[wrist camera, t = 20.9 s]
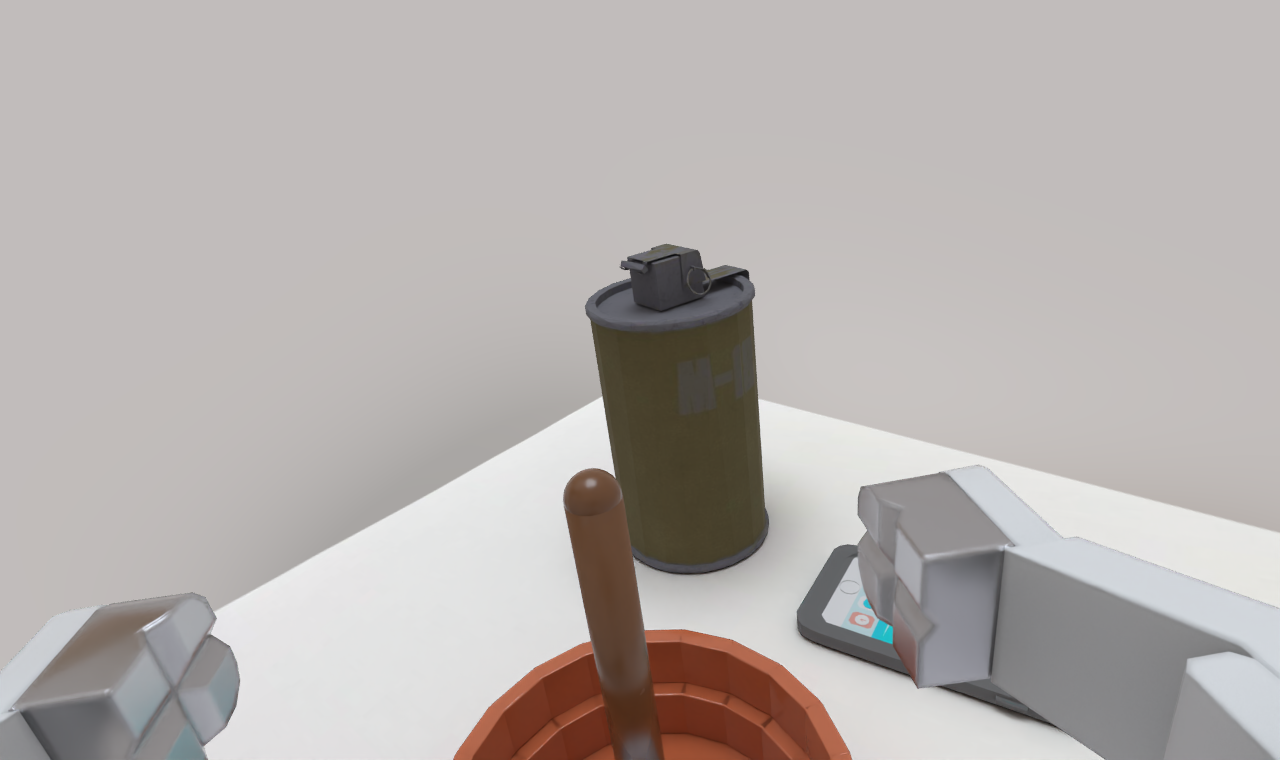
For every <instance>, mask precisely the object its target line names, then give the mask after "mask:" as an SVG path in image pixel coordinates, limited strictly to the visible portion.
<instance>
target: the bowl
mask: <svg viewBox="0 0 1280 760" xmlns="http://www.w3.org/2000/svg"><path fill="white" fill-rule="evenodd" d="M644 631H645V637H646V644H647V650H648V656H649V663H650V669H651V675H652V681H653V688H654V694H655V700H656V707H657V713H658V719H659V725H660V732H661V738H662V744H663V751H664V757H665V760H852V757H851V755H850V751H849V750H848V748H847V746H846V744H845V743H844V741H843V739H842V737H841V736H840V734H839V732H838V730H837V729H836V727H835V725H834V723H833V722H832V720H831V718H830V716H829V715H828V713H827V711H826V709H825V708H824V706H823V704H822V703H821V702H820V700H819V699H818V698H817V697H816V696H814V695H813V694H812V693H811V692H810V691H809V690H808V689H807V688H806V687H805V686H804V685H803V684H802V683H801V682H799V681H798V680H797V679H796V678H795V677H794V676H793V675H792V674H791V673H790V672H789V671H788V670H787V669H785V668H784V667H783V666H782V665H780V664H779V663H777V662H775V661H773V660H771V659H769V658H767V657H765V656H763V655H761V654H759V653H757V652H755V651H753V650H751V649H749V648H747V647H745V646H743V645H741V644H739V643H737V642H736V641H733V640H730V639H726V638H721V637H717V636H712V635H707V634H703V633H698V632H693V631H689V630H682V629H681V630H644ZM453 760H615V758H614V753H613V748H612V743H611V738H610V733H609V728H608V723H607V718H606V713H605V708H604V703H603V698H602V693H601V688H600V683H599V678H598V673H597V668H596V663H595V658H594V653H593V648H592V643H591V641H590V642H586V643H582V644H580V645H578V646H576V647H574V648H572V649H570V650H568V651H566V652H564V653H562V654H560V655H558V656H557V657H555V658H553V659H551V660H549V661H547V662H545V663H543V664H541V665H539V666H537V667H535V668H534V669H533V670H531V671H530V672H529V673H528V674H527V675H526V676H524V677H523V678H522V679H521V680H520V681H519V682H517V683H516V684H515V685H514V686H513V687H512V688H510V689H509V690H508V691H507V692H506V693H505V694H503V695H502V696H501V697H500V698H499V699H497V700H496V701H495V702H494V703H493V704H492V705H491V706H490V707H489V708H488V709H487V711H486V712H485V713H484V715H483V716H482V718H481V719H480V720H479V722H478V723H477V725H476V726H475V727H474V729H473V730H472V732H471V733H470V734H469V736H468V737H467V739H466V740H465V741H464V743H463V744H462V745H461V747H460V748H459V750H458V751H457V753H456V754H455V756H454V759H453Z"/></svg>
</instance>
